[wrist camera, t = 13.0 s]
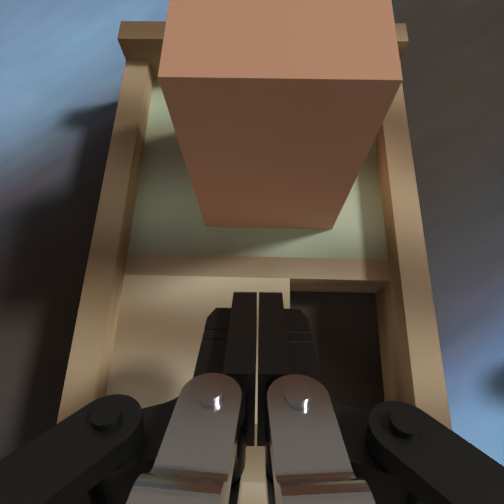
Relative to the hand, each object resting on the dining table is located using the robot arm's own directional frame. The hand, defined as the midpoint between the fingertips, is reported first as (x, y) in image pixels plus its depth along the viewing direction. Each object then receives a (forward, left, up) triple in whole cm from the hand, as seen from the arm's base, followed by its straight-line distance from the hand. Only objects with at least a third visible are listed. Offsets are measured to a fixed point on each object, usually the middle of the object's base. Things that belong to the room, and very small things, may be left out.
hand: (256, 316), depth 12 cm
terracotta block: (+6, +6, -4) cm, 9 cm away
